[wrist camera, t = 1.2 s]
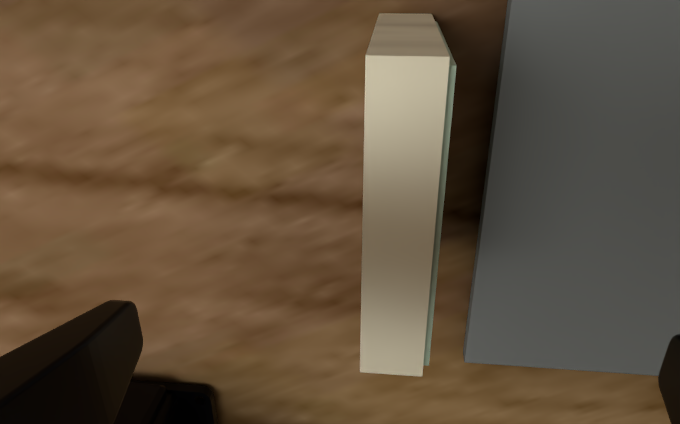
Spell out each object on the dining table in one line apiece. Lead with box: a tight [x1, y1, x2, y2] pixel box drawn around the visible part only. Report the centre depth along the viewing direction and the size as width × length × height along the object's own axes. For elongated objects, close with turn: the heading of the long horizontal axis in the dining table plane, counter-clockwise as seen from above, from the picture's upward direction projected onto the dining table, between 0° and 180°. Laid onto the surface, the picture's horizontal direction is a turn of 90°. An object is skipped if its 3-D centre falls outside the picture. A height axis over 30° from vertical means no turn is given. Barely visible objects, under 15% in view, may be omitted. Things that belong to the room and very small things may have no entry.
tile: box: [360, 13, 456, 377], centre depth 15 cm, size 8×2×7 cm, turn 0°
